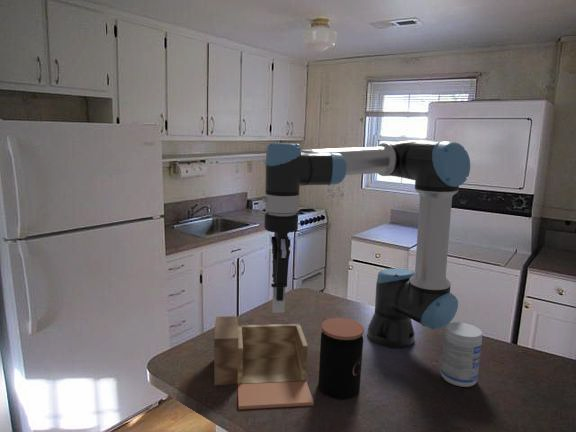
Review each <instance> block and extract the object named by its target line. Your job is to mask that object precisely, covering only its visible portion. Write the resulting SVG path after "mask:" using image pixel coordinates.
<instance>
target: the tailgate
mask: <svg viewBox="0 0 576 432" xmlns="http://www.w3.org/2000/svg"><path fill="white" fill-rule="evenodd" d="M237 397H238V399H237V401H238V410H249V409H251V410H252V409H267V408H269V409H270V408H287V407H304V406H306V407H307V406H314V403H315V402H314V399H313V395H312V393H311V391H310V388H309V385H308V383H307V380H306V381H289V382H268V383H247V384H237Z"/></svg>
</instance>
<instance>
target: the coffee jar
mask: <svg viewBox="0 0 576 432" xmlns="http://www.w3.org/2000/svg"><path fill="white" fill-rule="evenodd" d="M321 331H322V332H321V334H320V349H319V363H318V364H319V368H318V384H317V385H318V390H319V391H320V392H321V393H322V394H323V395H324V396H327V397H328V398H331V399H335V400H342V401H343V400H350V399H353V398H355V397H356V396H357V395H358V394H359V392H360V390H361V388H360V386H361V376H362V375H361V373H362V362H363V361H362V360H363V350H364V348H363V347H364V336H363V335H364V332H365V328H364V326H363V325H362V324H361V323H360V322H358V321H356V320H354V319H351V318H350V319H349V318H344V317H334V318H329V319H326V320H324V321H323V322H322V324H321Z"/></svg>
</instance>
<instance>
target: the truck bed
mask: <svg viewBox="0 0 576 432" xmlns="http://www.w3.org/2000/svg"><path fill="white" fill-rule="evenodd" d="M214 323H215V324H214V337H213V338H214V339H213V341H214V342H213V346H214V347H213V355H214V358H213V360H214V361H213V362H214V366H213V367H214V368H213V371H214V373H213V374H214V376H213V379H214V380H213V381H214V383H213V384H214V386H222V385H226V386H227V385H238V384H258V383H278V382H299V381H306V382H307V369H308V368H307V367H308V351H309V350H308V347H309V346H308V343H307V340H306V337H305V334H304V331H303V329H302V327H301V324H300V323H279V324H271V323H270V324H247V325H246V324H245V325H244V324H241V325H239V323H238V316H236V315H234V316H233V315H231V316H229V315H228V316H227V315H226V316H215V322H214Z"/></svg>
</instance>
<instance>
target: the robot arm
mask: <svg viewBox="0 0 576 432" xmlns="http://www.w3.org/2000/svg"><path fill="white" fill-rule="evenodd" d="M264 164H265V191H264V192H265V197H263V198H262V202H263V203H265V206H264V211H266V213H265V214H264V230H266V231H267V232H270V233H274V234H273V235H274V236H271V240H270V241H271V254H272V275H271V276H272V282H273V283H271V285H270V287H271V288H272V309H271V311H272V313H273V314H278V313H279V314H284V313H285V311H286V309H285V308H286V307H285V306H286V288H287V287H288V277H289V263H290V262H289V261H290V254H291V250H290V248H291V239H290V237H289V236H288V234H289V233H295V232H297V230H298V227H299V215H298V212H299V210H300V188H301V187H300V186H302V187H303V186H324V185H325V186H326V185H327V186H331V185H336V184H337V185H338V184H340V183H342V182H343V181H344V179H346V176H352V175H366V174H367V175H368V174H369V175H370V174H378V175H379V176H381V177H396V178H403V179H407V180H412V181H414V190H415V191H416V192H417V193H418V194H419V204H418V205H419V206H418V221H417V222H418V223H417V237H416V252H415V264H414V265H415V267H414V269H415V270H411V269H408V268H407V269H406V268H399V267H398V268H386V269H382V270H380V271H379V272H378V274H377V277H376V278H377V279H376V287H375V300H374V301H375V303H374V313H373V315H372V317H371V320H370V322H369V324H368V327H367V337H368V338H369V340H371V341H373V343H375V344H378V345H380V346H384V347H388V348H393V349H394V348H395V349H396V348H397V349H399V348H407V347H410V346H411V345H413V344H414V342H415V336H416V335H415V334H416V333H415V330H414V325H413V322H412V321H415V322H416V323H419V324H420V325H422V326H423V327H425V328H429V329H431V330H433V331H434V330H435V331H439V330H441V329H444V328H446V325H447V324H449V323H452V321H453V320H454V319H455V316H456V314H457V311H458V308H459V301H458V298H457V297H456V295H455V294H453V293H451V282H450V280H449V279H448V278H447V277H446V276H447V265H448V264H447V263H448V253H449V251H448V250H449V240H450V239H449V238H450V227H451V218H452V217H451V215H452V214H451V213H452V203H453V202H452V201H453V196H454V195H456V194H457V193H459V190H460V189H459V187H460V186H462V185H463V184H464V183H466V181H467V180H468V179H467V178H469V176H470V171H471V159H470V156H469V152H468V151H467V150H466V149H465V147H464V146H463V145H462V144H460V143H459V142H454V141H450V140H449V141H448V140H429V139H427V140H425V139H409V140H403V141H395V142H385V143H383V142H382V143H379V144H378V145H377V146H364V147H363V146H362V147H337V148H336V147H328V148H302V147H301V145H300V144H299V143H295V142H292V143H290V142H271V143H269V144H268V145H267V147H266V156H265V163H264Z"/></svg>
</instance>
